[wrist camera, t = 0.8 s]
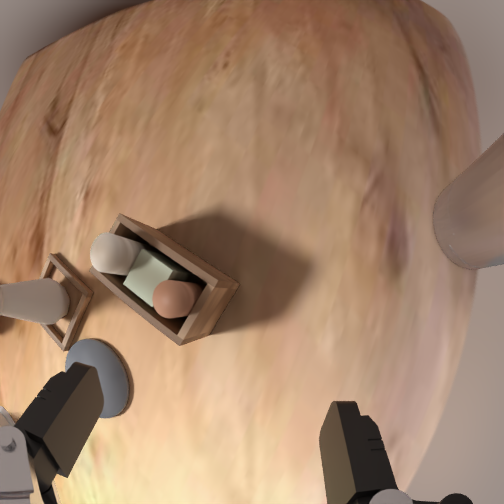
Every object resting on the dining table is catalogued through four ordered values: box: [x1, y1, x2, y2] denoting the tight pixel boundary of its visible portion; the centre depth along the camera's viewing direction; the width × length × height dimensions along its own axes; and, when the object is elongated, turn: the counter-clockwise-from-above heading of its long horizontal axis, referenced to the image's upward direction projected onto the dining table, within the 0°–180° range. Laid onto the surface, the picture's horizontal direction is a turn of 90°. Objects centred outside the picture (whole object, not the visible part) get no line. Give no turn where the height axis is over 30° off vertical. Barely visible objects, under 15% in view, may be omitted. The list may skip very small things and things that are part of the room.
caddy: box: [90, 213, 240, 346], centre depth 26 cm, size 6×11×9 cm, turn 58°
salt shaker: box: [0, 278, 70, 325], centre depth 28 cm, size 6×6×13 cm
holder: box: [39, 253, 93, 351], centre depth 33 cm, size 9×9×1 cm
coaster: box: [65, 339, 129, 418], centre depth 31 cm, size 10×10×1 cm
